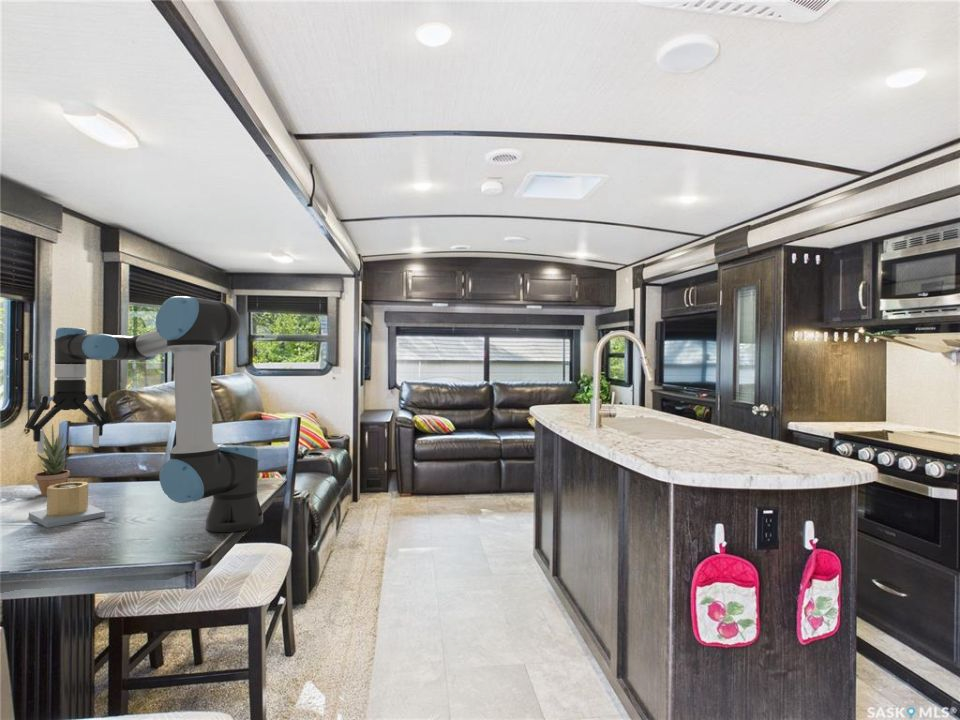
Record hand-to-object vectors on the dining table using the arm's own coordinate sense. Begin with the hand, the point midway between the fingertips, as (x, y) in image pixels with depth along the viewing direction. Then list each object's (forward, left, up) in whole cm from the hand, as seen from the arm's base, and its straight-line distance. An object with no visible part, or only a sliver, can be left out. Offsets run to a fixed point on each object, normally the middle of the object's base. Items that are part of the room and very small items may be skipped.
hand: (69, 449), depth 156 cm
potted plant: (+37, -7, -20) cm, 43 cm away
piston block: (0, 0, -20) cm, 20 cm away
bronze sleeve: (0, 0, -19) cm, 19 cm away
